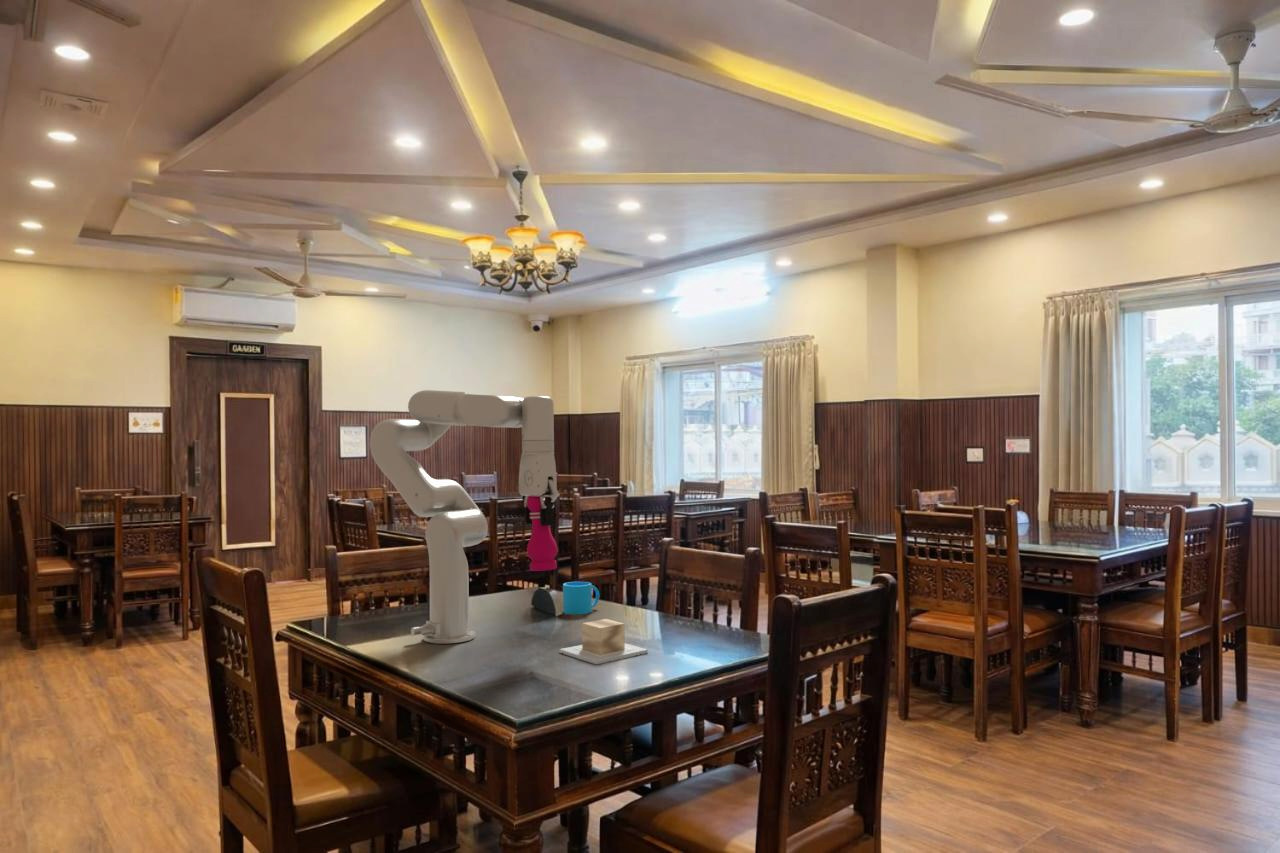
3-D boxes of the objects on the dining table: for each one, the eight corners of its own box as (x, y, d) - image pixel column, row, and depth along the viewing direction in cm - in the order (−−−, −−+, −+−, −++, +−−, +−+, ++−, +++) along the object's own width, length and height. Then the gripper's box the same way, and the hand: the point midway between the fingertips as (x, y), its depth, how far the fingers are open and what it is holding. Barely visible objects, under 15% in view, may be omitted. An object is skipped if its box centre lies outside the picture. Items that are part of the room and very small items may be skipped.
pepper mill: (559, 566, 203) (554, 483, 204) (557, 569, 196) (552, 483, 197) (529, 568, 203) (524, 485, 204) (526, 572, 196) (521, 485, 197)
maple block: (600, 654, 191) (600, 628, 191) (582, 649, 196) (582, 623, 196) (624, 649, 196) (624, 623, 196) (606, 644, 201) (605, 618, 201)
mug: (574, 616, 237) (574, 587, 237) (557, 612, 243) (557, 583, 243) (607, 610, 245) (607, 582, 245) (590, 606, 251) (590, 579, 251)
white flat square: (596, 664, 186) (596, 660, 186) (559, 652, 196) (559, 648, 196) (647, 653, 195) (647, 649, 195) (610, 642, 206) (610, 638, 206)
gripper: (505, 448, 205) (506, 523, 204) (545, 448, 192) (546, 528, 191) (531, 448, 210) (532, 521, 209) (572, 447, 196) (573, 525, 196)
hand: (539, 523), depth 200 cm, fingers closed on pepper mill, 5 cm apart
